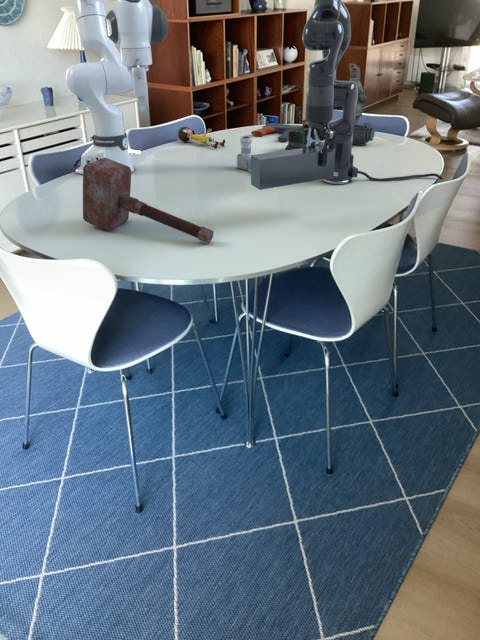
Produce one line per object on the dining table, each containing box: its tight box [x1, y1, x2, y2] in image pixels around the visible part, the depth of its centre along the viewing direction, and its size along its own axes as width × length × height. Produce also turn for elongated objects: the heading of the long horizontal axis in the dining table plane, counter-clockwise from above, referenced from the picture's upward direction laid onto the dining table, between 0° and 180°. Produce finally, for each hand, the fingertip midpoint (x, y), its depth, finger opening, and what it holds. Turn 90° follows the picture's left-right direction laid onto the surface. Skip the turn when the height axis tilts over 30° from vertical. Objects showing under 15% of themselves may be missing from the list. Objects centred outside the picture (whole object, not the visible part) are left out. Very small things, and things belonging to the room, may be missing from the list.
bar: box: [250, 145, 335, 191], centre depth 159 cm, size 24×6×8 cm, turn 115°
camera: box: [236, 135, 253, 173], centre depth 210 cm, size 9×12×15 cm
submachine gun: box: [250, 122, 302, 142], centre depth 262 cm, size 32×3×25 cm
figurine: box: [177, 126, 226, 150], centre depth 251 cm, size 13×8×25 cm
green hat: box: [279, 128, 317, 151], centre depth 234 cm, size 15×19×20 cm
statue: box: [348, 62, 368, 125], centre depth 262 cm, size 11×9×30 cm
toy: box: [352, 122, 376, 146], centre depth 244 cm, size 9×9×15 cm
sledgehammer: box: [82, 158, 214, 244], centre depth 155 cm, size 17×10×40 cm
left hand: (142, 108), depth 170 cm, fingers open, 8 cm apart
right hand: (316, 163), depth 162 cm, fingers closed on bar, 5 cm apart
